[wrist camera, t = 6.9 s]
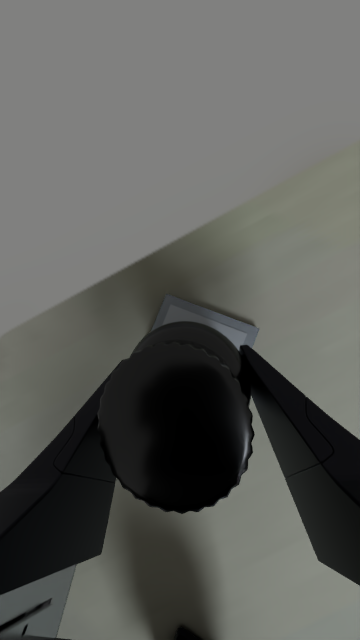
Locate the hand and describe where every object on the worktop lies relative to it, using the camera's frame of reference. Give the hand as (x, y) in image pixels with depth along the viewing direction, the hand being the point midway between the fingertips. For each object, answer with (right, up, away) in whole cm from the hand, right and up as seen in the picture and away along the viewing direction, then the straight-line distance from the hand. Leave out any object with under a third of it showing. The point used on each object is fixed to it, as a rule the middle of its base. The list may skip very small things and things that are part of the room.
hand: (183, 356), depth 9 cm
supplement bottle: (+1, -2, +7) cm, 8 cm away
